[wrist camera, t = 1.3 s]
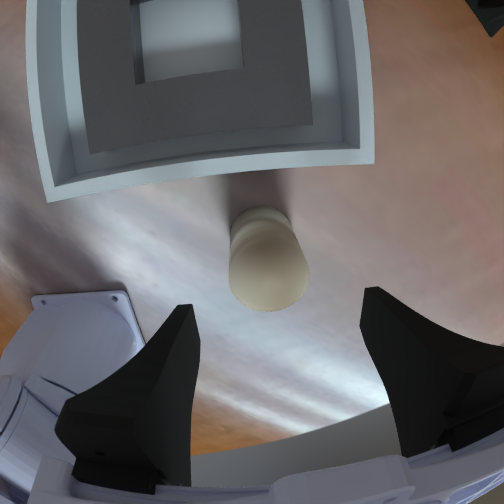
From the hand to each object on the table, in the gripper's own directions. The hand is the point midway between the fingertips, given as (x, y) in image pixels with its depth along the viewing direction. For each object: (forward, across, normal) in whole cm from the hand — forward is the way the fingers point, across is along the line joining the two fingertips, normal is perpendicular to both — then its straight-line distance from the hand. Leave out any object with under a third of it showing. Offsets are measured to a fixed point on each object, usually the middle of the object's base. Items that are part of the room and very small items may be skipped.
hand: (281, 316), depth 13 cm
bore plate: (+9, +3, -13) cm, 16 cm away
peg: (+9, 0, 0) cm, 9 cm away
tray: (+9, +3, -13) cm, 16 cm away
